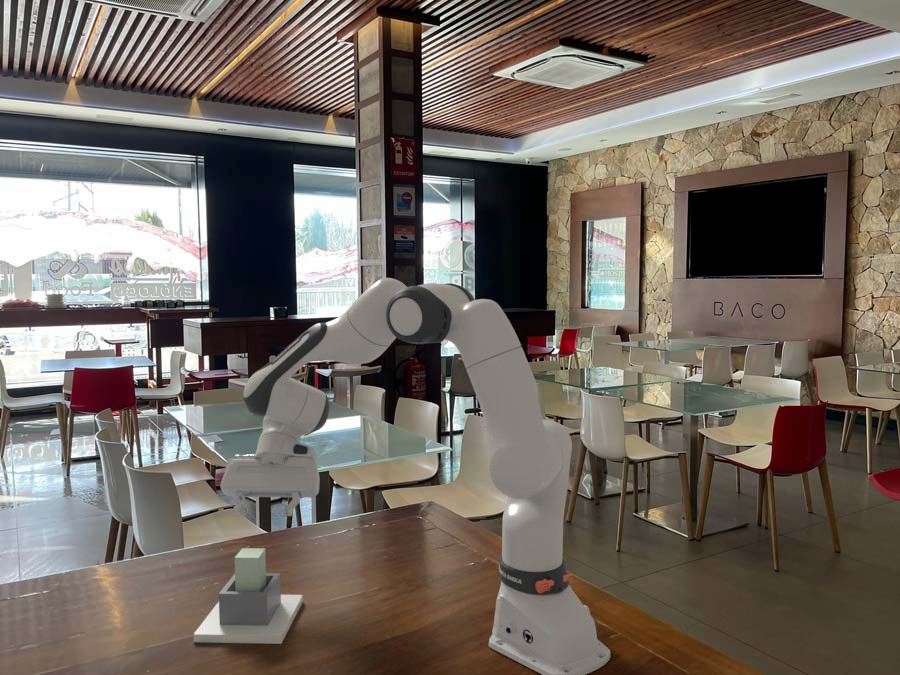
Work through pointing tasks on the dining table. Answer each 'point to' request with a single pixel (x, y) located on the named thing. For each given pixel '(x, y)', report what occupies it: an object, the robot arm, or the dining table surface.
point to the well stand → (250, 615)
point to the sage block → (250, 570)
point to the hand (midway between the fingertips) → (264, 514)
